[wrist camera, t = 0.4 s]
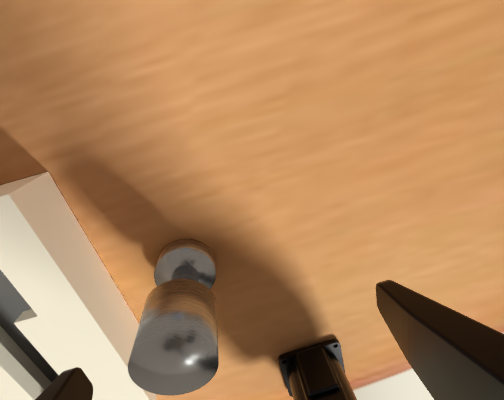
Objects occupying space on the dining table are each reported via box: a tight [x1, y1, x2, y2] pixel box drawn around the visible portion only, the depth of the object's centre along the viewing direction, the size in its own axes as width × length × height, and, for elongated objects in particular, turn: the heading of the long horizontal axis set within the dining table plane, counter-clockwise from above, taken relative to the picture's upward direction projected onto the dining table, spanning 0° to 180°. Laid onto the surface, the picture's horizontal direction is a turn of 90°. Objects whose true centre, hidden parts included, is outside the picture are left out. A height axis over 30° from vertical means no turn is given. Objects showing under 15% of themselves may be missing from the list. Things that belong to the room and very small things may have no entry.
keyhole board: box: [0, 172, 157, 400], centre depth 21 cm, size 20×12×4 cm, turn 14°
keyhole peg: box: [128, 239, 218, 395], centre depth 19 cm, size 5×5×9 cm
